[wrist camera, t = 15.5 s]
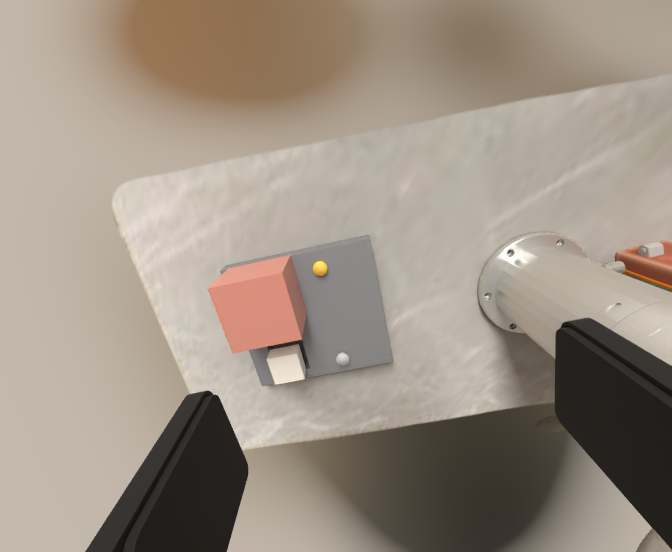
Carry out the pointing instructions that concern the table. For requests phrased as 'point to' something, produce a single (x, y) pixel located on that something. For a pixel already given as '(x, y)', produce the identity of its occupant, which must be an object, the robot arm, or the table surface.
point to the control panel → (649, 264)
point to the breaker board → (335, 309)
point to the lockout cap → (259, 304)
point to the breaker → (286, 364)
